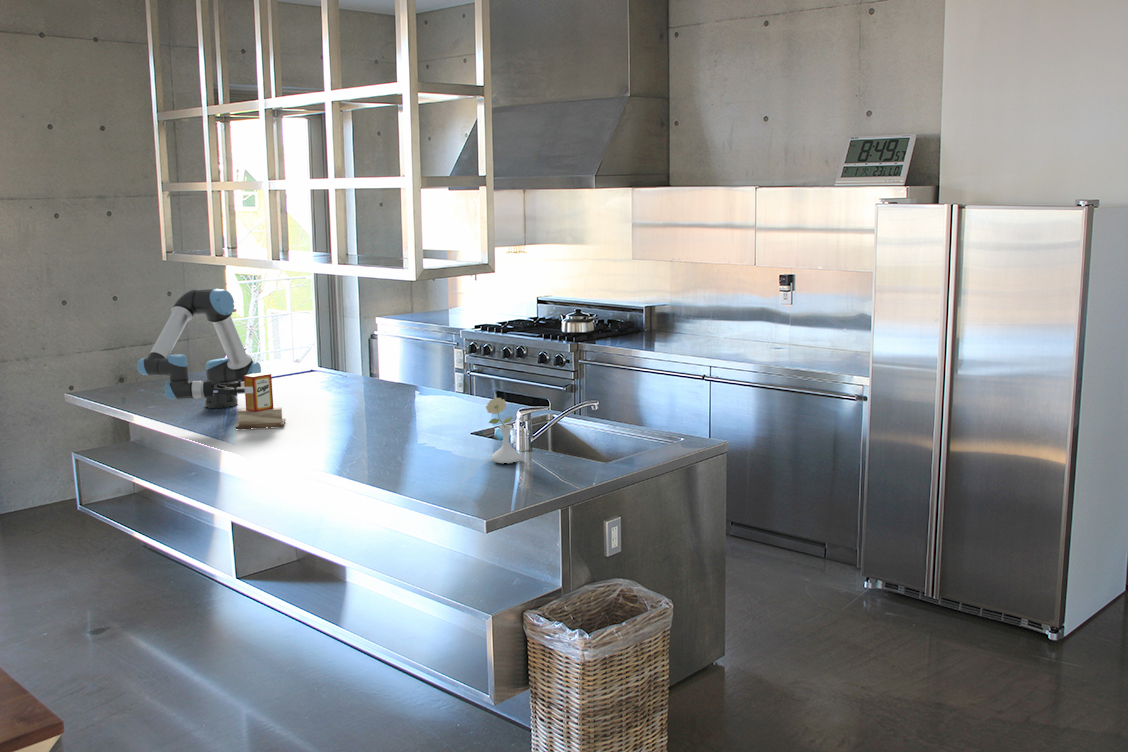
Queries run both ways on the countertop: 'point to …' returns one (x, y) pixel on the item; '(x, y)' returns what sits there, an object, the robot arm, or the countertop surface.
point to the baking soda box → (259, 392)
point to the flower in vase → (506, 451)
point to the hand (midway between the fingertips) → (254, 387)
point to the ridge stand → (260, 419)
